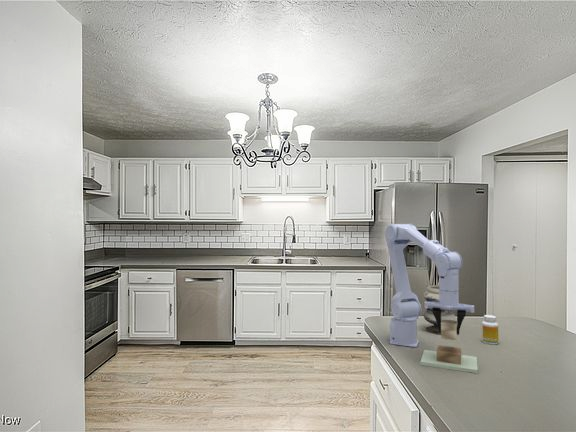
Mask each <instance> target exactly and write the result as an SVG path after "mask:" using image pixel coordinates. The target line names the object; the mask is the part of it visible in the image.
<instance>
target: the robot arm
mask: <svg viewBox="0 0 576 432" xmlns="http://www.w3.org/2000/svg"><path fill="white" fill-rule="evenodd" d="M384 236H385V241H386V242H385V243H386V246H387V250H388V255H389V261H390V265H391V271H392V277H393V281H394V282H393V283H394V289H395V294H394V295H393V296H392V297H391V299H390V302H391V308H390V310H391V314H392V316H393V317H390V321H389V344H390V345H394V346H396V345H397V346H404V347H405V346H406V347H409V348H410V347H412V348H417V347H418V344H419V342H420V340H419V339H418V337H417V335H418V331H417V330H418V328H417V327H418V325H417V323H418V322H417V321H418V320H419V317H420V316H421V314H422V312H423V311H422V309H423V308H422V305H421V303H420V301H419V297H418V295H417V294H416V293H415V292H412V289H411V288H412V287H411V284H410V279H409V273H408V269H407V265H406V264H407V263H406V259H405V254H404V249H405V248H406V247H407V246H408V245H409V244H410V243H411V242H412V243H414V245H417V246H418V247H420V248H421V249H422V253H423V255H425V256H426V257H428V258H429V259H430V260H432V261H433V262H434V265H435V267H436V269H437V270H436V271H437V274H438V277H439V278H438V281H439V283H438V285H439V302H428V301H427V300H426V301H424V309H426V310H427V309H428V308H432V312H433V315H434V317H435V319H436V321H437V324H438V328H439V332H440V333H441V309H443V310H452V311H455V312H456V321H457V336H459V335H460V329H461V326H462V323H463V321H464V318H465V317H466V315H467V314H466V312H467V313H474V314H475V305H472V304H467V303H466V304H465V303H460V301H459V299H460V298H459V295H460V293H459V291H460V289H459V285H460V284H459V281H460V280H459V277H460V276H459V275H460V274H459V273H460V272H459V270H461V268H462V267H463V263H464V261H463V258H462V255H461V254H460V253H459V252H458V251H450V250H449V248H448V247H445V246H444V245H441V244H440V241H439V240H437V239H428V238H427V237H426V236H424V235H423V234H422V233H421V232H420V231H419V230H418V228H417V226H415V225H413V223H389V224H388V225H387V227H386V229H385V230H384Z"/></svg>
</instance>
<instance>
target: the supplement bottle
mask: <svg viewBox="0 0 576 432" xmlns="http://www.w3.org/2000/svg"><path fill="white" fill-rule="evenodd" d="M496 321H497V317H496V316H495V315H492V314H484V315H483V321H482V322H481V341H482V343H484V344H486V345H498V344H499V323H498V322H496Z"/></svg>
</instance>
